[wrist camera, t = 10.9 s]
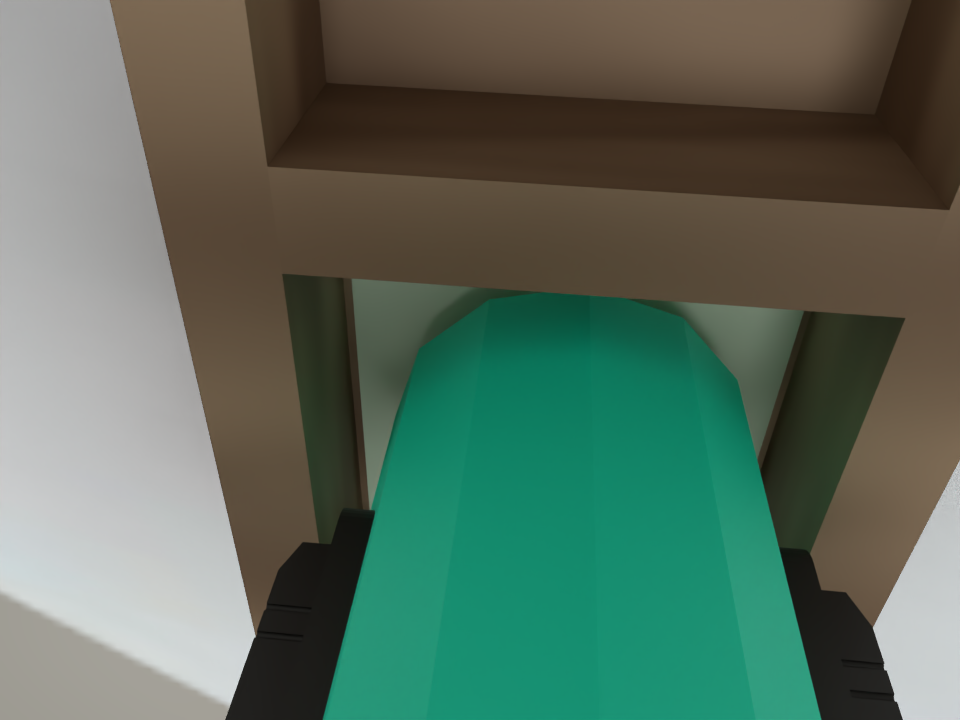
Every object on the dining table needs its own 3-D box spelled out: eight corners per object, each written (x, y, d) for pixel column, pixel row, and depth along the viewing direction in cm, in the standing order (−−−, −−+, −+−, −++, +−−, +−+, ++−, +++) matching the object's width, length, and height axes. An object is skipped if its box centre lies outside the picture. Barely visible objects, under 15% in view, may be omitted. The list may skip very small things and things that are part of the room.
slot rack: (100, -1007, 8) (-243, -1542, 4) (1381, -1031, 7) (2064, -1672, 4) (313, 523, 20) (264, 673, 17) (780, 564, 19) (820, 727, 16)
